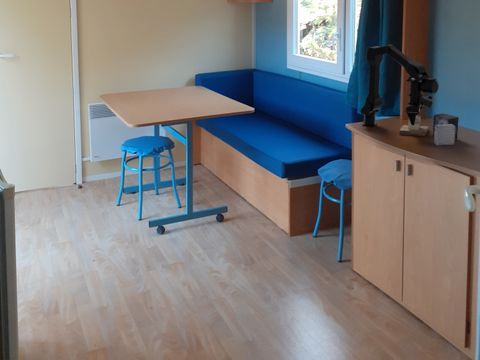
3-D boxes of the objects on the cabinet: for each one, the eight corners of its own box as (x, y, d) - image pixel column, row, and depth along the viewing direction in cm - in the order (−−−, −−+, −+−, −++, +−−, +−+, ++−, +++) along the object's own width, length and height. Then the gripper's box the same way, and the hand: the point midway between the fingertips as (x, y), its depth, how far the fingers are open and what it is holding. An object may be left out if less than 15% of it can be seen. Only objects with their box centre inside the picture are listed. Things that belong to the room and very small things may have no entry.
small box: (431, 136, 298) (432, 114, 295) (442, 134, 300) (443, 112, 297) (446, 141, 289) (448, 118, 285) (457, 139, 291) (459, 116, 288)
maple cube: (409, 126, 309) (410, 114, 307) (420, 127, 307) (420, 115, 305) (408, 129, 304) (408, 116, 303) (418, 129, 303) (419, 117, 301)
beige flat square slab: (403, 128, 314) (403, 124, 313) (428, 130, 309) (428, 126, 309) (399, 134, 303) (399, 130, 303) (424, 135, 299) (425, 131, 298)
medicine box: (450, 142, 286) (452, 123, 283) (454, 144, 282) (455, 126, 279) (433, 143, 286) (434, 124, 283) (437, 145, 281) (438, 126, 279)
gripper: (430, 95, 289) (429, 128, 294) (435, 88, 305) (433, 120, 310) (406, 94, 293) (404, 127, 298) (412, 87, 309) (410, 118, 314)
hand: (414, 123), depth 305 cm, fingers open, 9 cm apart
